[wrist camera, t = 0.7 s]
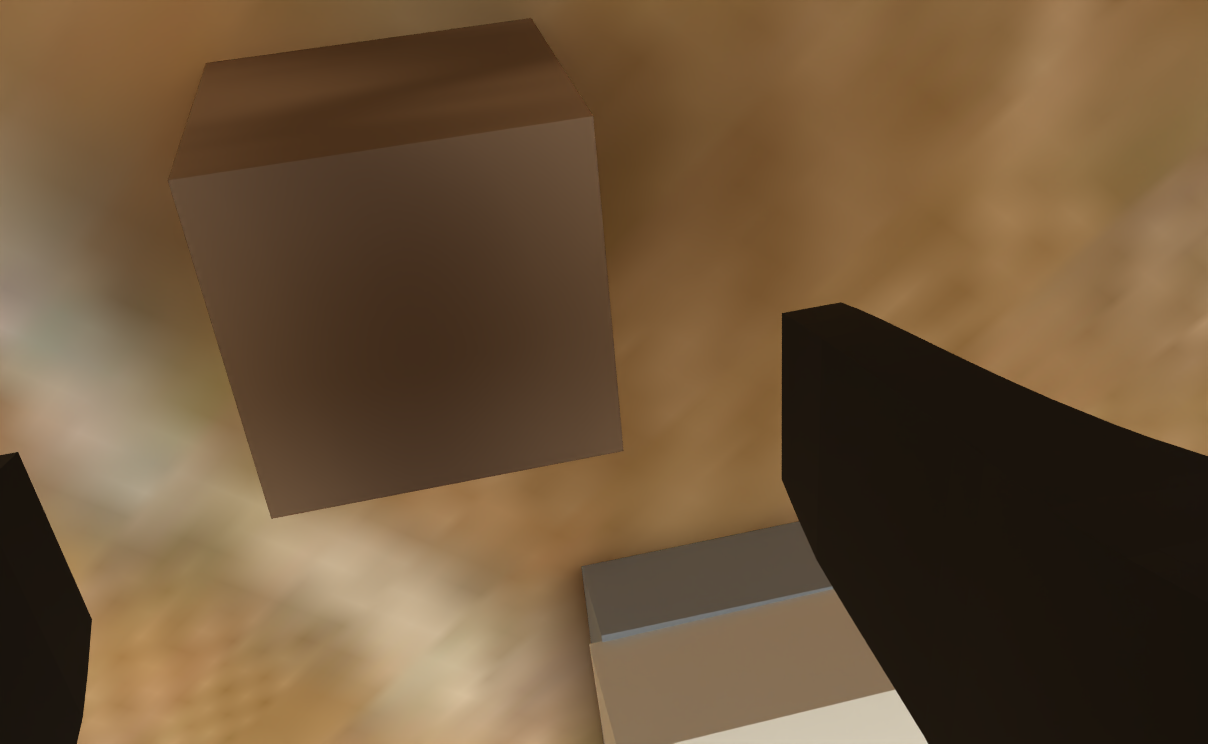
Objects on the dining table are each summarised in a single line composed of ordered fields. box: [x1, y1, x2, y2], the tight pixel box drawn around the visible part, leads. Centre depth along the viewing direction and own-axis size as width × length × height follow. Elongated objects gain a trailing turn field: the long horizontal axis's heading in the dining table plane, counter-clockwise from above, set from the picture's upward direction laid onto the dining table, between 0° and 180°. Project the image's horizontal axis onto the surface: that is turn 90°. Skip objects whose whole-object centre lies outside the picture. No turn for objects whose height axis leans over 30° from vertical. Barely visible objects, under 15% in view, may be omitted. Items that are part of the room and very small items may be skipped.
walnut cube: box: [168, 18, 623, 519], centre depth 15 cm, size 4×4×4 cm
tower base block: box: [582, 521, 833, 744], centre depth 24 cm, size 8×10×2 cm
